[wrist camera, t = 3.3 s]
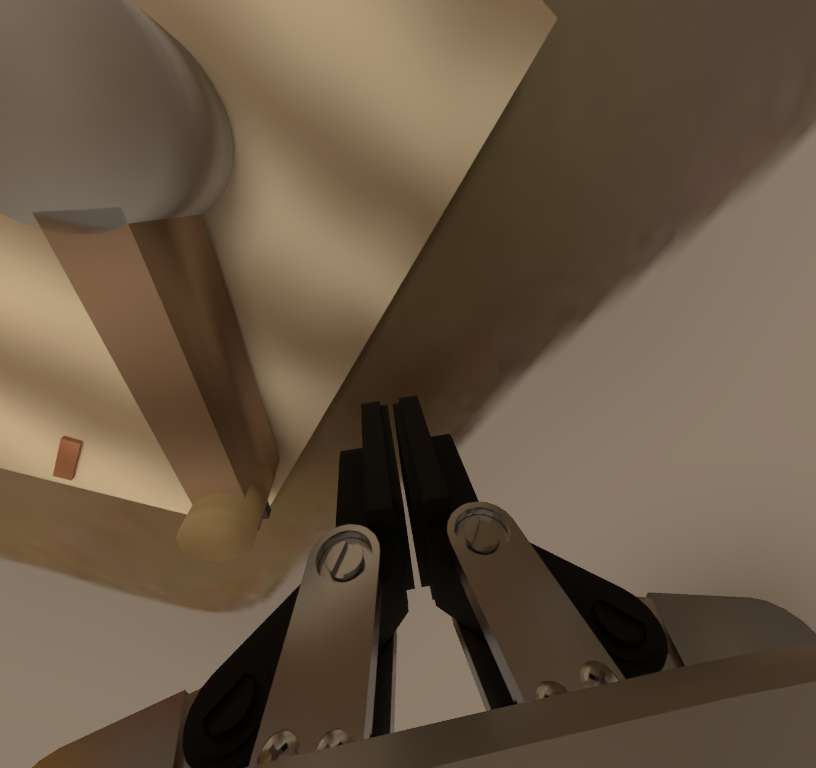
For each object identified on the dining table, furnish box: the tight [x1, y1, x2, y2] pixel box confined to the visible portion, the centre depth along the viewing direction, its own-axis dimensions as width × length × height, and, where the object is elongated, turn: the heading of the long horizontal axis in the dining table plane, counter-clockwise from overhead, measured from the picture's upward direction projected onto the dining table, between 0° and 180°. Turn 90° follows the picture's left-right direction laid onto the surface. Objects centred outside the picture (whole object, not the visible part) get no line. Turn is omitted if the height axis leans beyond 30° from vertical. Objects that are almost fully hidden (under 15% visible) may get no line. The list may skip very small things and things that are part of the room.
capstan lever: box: [0, 0, 280, 562], centre depth 11 cm, size 18×5×5 cm, turn 3°
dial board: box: [0, 0, 558, 514], centre depth 12 cm, size 25×18×3 cm
